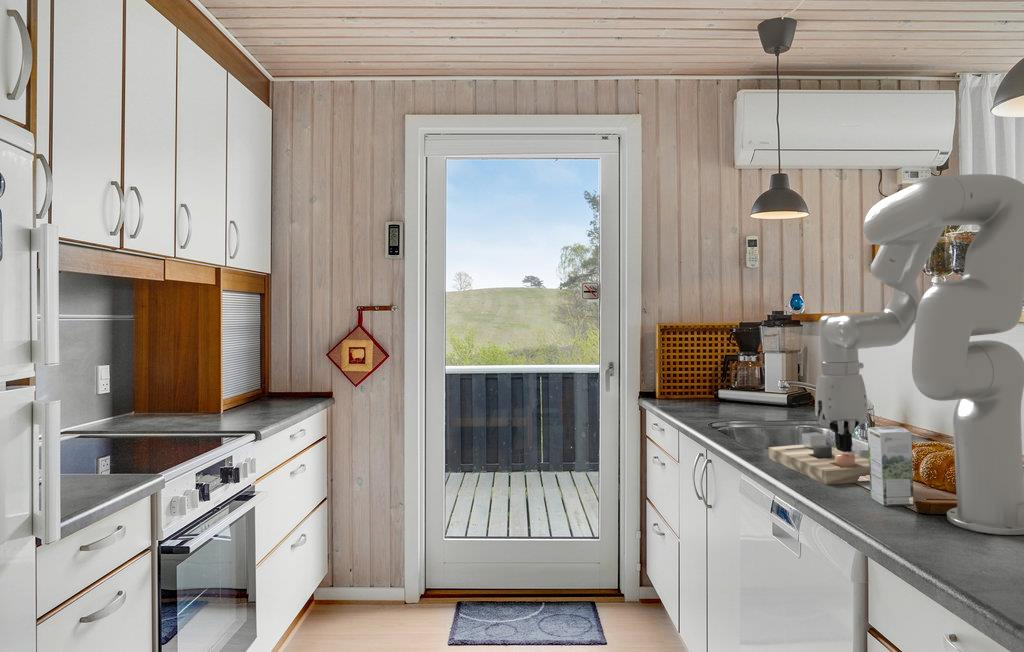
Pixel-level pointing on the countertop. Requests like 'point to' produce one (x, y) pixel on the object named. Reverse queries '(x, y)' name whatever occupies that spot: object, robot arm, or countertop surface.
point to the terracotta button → (844, 460)
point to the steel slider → (813, 439)
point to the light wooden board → (818, 464)
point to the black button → (822, 451)
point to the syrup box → (890, 465)
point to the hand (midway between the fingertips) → (844, 450)
